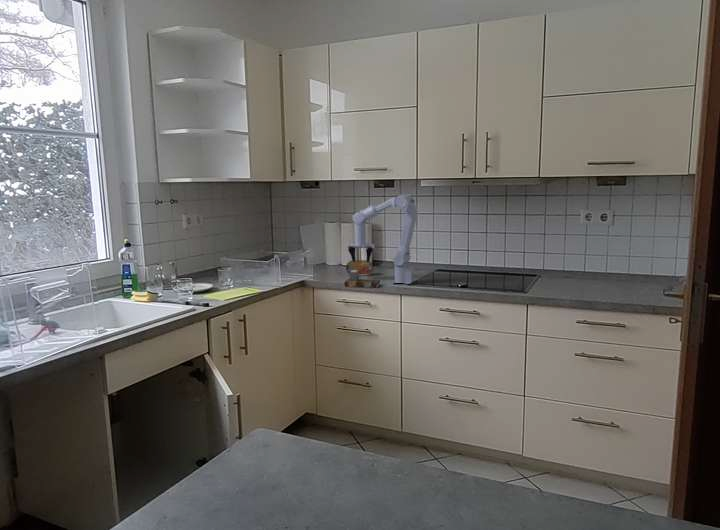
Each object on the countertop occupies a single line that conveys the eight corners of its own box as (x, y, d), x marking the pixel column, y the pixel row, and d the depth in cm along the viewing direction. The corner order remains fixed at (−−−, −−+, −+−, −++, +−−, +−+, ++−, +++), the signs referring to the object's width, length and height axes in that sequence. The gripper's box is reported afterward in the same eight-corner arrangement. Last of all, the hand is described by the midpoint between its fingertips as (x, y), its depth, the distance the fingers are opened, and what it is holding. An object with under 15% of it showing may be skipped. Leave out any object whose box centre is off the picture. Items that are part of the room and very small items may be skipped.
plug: (359, 284, 260) (358, 270, 259) (357, 286, 257) (356, 271, 255) (352, 284, 261) (351, 269, 260) (350, 286, 258) (349, 271, 256)
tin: (346, 275, 285) (345, 260, 283) (347, 274, 288) (347, 259, 286) (372, 276, 281) (372, 260, 280) (374, 274, 284) (373, 259, 283)
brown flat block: (379, 284, 259) (379, 279, 258) (375, 288, 252) (375, 282, 251) (349, 283, 263) (348, 278, 263) (344, 286, 256) (344, 281, 256)
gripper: (344, 236, 264) (345, 262, 267) (371, 236, 260) (372, 263, 262) (348, 234, 271) (349, 260, 273) (375, 235, 267) (376, 261, 269)
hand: (360, 261), depth 268 cm, fingers open, 7 cm apart
